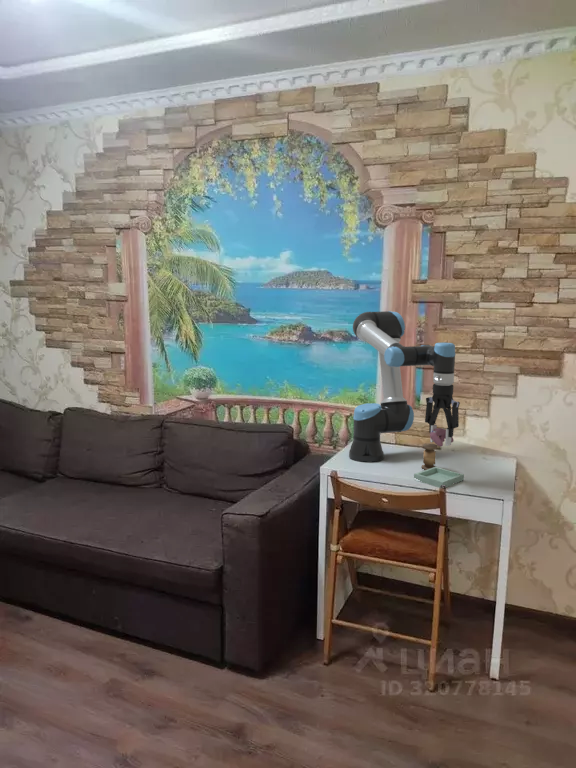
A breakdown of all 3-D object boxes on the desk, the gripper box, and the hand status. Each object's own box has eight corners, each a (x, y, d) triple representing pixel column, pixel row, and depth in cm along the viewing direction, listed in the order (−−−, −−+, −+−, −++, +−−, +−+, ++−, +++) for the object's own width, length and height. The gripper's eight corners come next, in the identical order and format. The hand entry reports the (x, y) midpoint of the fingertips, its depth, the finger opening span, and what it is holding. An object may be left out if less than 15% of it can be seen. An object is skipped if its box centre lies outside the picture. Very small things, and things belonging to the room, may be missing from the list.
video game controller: (445, 444, 226) (438, 427, 227) (455, 441, 222) (448, 424, 224) (432, 449, 218) (425, 431, 220) (442, 446, 215) (435, 428, 217)
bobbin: (418, 468, 237) (419, 445, 236) (427, 465, 241) (428, 442, 240) (430, 472, 233) (431, 448, 231) (439, 469, 237) (440, 445, 235)
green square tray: (413, 479, 223) (414, 473, 223) (435, 472, 232) (435, 466, 232) (442, 488, 214) (442, 482, 213) (463, 480, 223) (463, 474, 222)
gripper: (416, 381, 222) (414, 440, 225) (459, 388, 208) (456, 450, 211) (428, 379, 227) (425, 436, 230) (471, 385, 212) (467, 446, 216)
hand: (440, 443), depth 221 cm, fingers closed on video game controller, 6 cm apart
